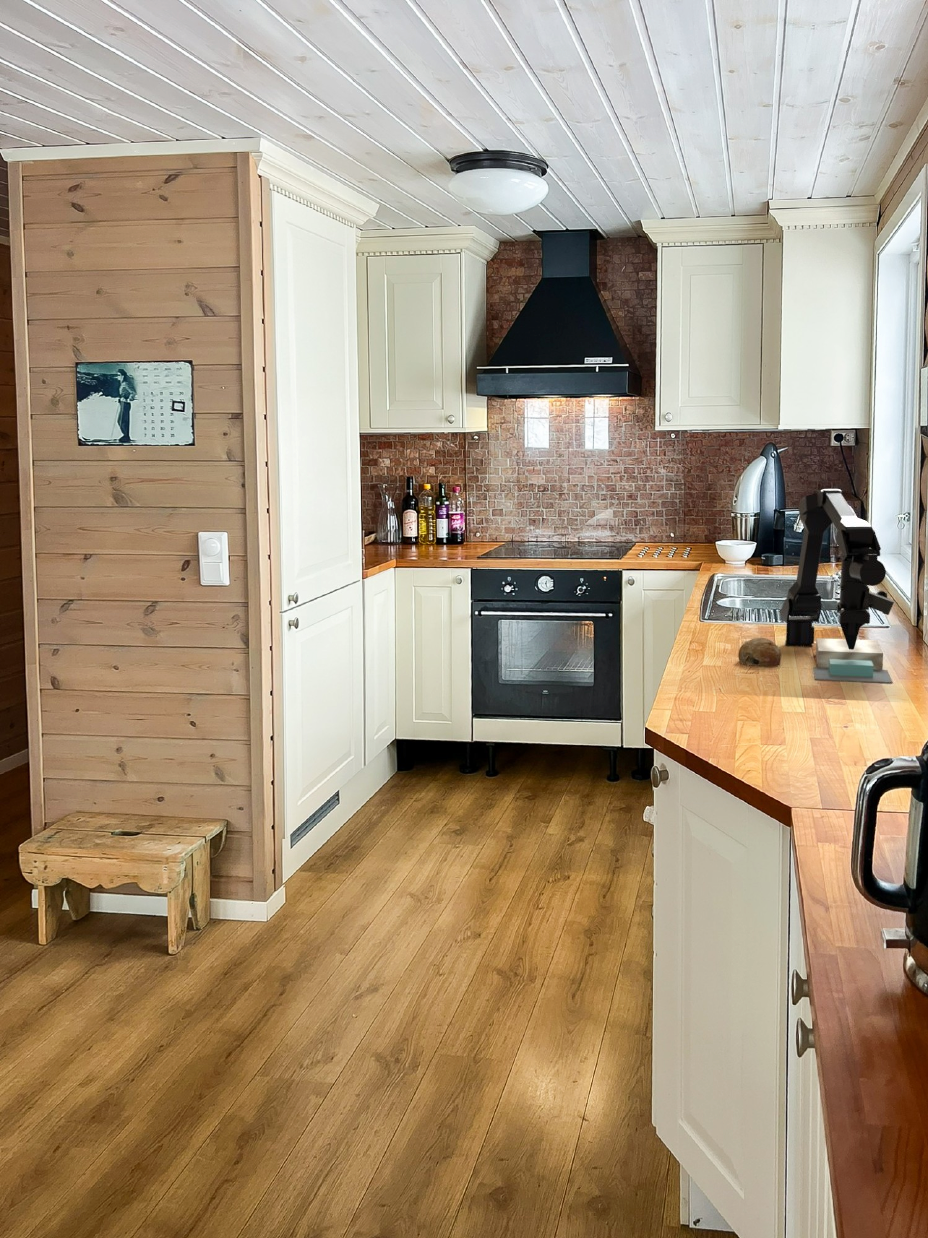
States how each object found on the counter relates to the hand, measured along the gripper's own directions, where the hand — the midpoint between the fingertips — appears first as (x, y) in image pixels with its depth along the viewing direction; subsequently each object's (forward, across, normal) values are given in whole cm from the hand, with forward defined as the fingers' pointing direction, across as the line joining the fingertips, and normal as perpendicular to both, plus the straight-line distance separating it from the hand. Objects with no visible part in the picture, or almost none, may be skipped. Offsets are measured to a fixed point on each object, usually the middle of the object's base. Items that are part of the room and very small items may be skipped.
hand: (851, 649), depth 261 cm
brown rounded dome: (+5, +6, +20) cm, 21 cm away
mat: (+5, -6, 0) cm, 8 cm away
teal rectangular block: (+2, -5, 0) cm, 5 cm away
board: (+5, +11, 0) cm, 12 cm away
